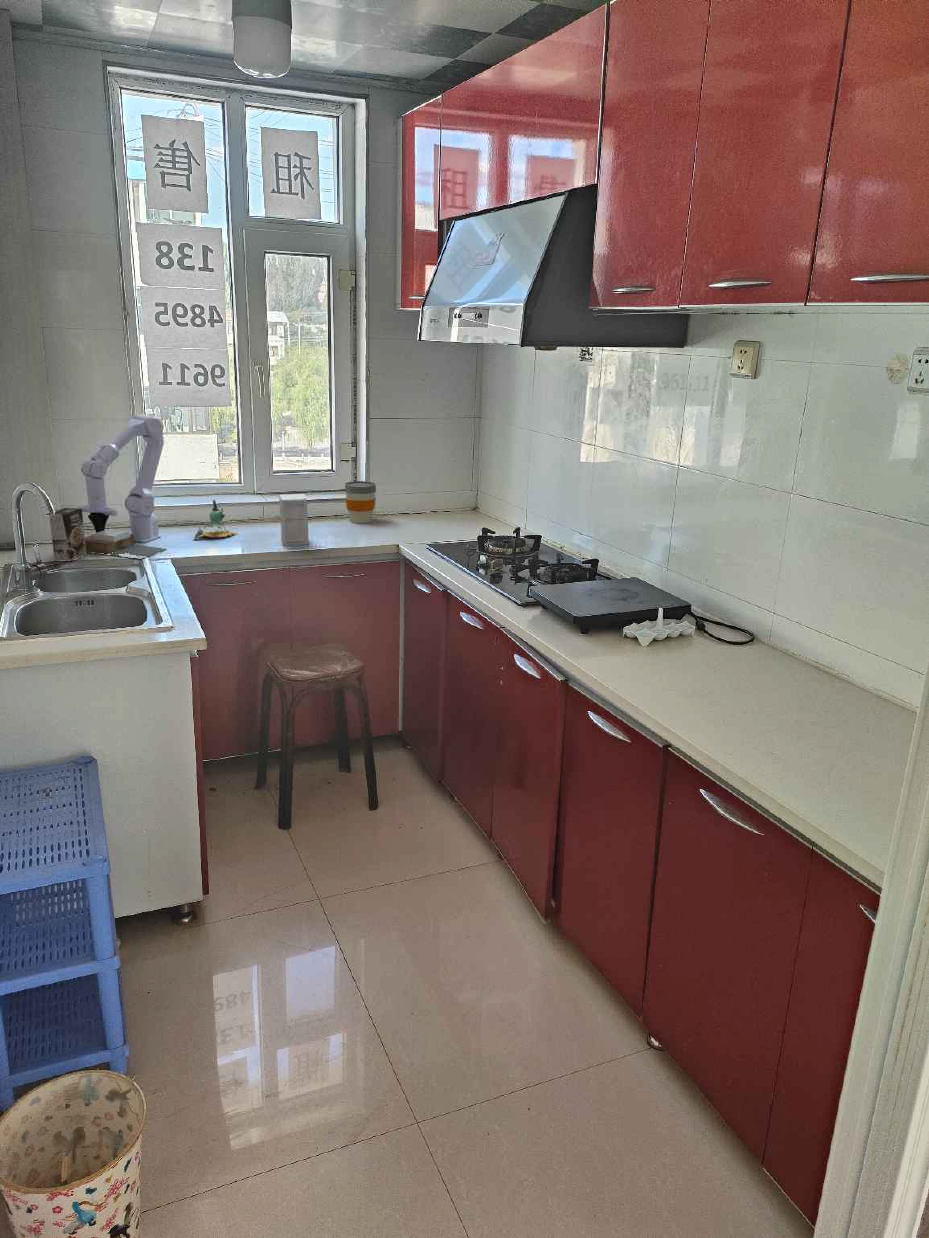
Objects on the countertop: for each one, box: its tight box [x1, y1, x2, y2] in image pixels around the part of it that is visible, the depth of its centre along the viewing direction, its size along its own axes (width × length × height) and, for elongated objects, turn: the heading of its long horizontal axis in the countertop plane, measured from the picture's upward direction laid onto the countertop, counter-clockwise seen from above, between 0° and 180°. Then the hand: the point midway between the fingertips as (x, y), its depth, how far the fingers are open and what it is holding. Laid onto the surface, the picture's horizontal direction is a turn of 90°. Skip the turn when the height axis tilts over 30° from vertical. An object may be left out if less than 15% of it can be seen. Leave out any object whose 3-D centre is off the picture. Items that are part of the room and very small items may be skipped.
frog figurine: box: [192, 499, 239, 542], centre depth 325 cm, size 10×18×15 cm, turn 123°
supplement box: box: [279, 493, 310, 547], centre depth 320 cm, size 10×9×17 cm
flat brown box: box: [85, 533, 136, 554], centre depth 306 cm, size 14×12×4 cm
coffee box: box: [48, 507, 88, 561], centre depth 291 cm, size 9×6×16 cm
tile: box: [93, 528, 131, 542], centre depth 304 cm, size 8×8×2 cm
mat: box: [109, 544, 168, 557], centre depth 303 cm, size 14×13×1 cm
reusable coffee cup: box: [344, 480, 377, 524], centre depth 355 cm, size 13×13×15 cm
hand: (100, 534), depth 306 cm, fingers closed
